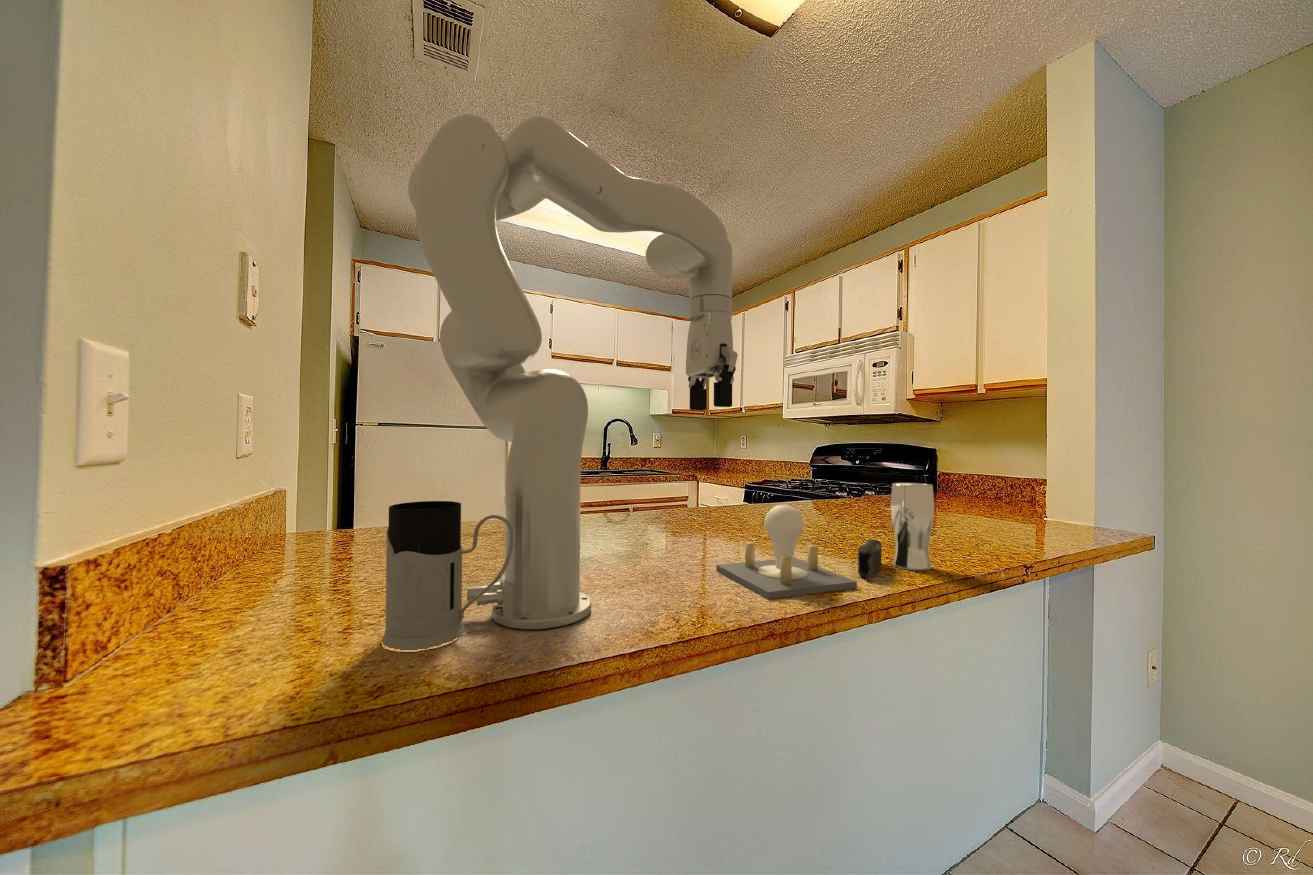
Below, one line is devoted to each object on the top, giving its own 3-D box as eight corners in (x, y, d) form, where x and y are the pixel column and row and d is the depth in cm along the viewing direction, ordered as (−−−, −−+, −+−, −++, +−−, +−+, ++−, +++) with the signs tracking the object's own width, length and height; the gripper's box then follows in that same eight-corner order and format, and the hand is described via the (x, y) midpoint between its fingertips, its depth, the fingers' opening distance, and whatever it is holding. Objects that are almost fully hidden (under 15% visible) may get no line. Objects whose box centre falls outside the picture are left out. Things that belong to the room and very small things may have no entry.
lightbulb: (807, 577, 75) (807, 507, 75) (768, 577, 76) (768, 507, 76) (798, 567, 81) (798, 502, 81) (761, 566, 82) (761, 502, 82)
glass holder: (401, 622, 59) (402, 500, 59) (519, 619, 60) (520, 499, 60) (364, 654, 50) (366, 510, 50) (504, 649, 52) (505, 509, 52)
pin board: (767, 598, 69) (768, 564, 69) (716, 570, 84) (716, 541, 84) (856, 588, 74) (857, 555, 74) (793, 563, 89) (793, 536, 89)
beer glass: (882, 564, 89) (882, 483, 89) (907, 560, 92) (908, 482, 92) (916, 573, 83) (916, 486, 83) (942, 569, 86) (942, 485, 86)
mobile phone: (865, 537, 92) (854, 550, 79) (882, 538, 90) (874, 552, 77) (865, 563, 92) (854, 581, 78) (882, 565, 90) (874, 583, 77)
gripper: (672, 321, 92) (671, 410, 91) (713, 295, 75) (712, 404, 75) (707, 324, 94) (707, 411, 94) (755, 300, 78) (754, 406, 78)
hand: (709, 408), depth 85 cm, fingers open, 9 cm apart
